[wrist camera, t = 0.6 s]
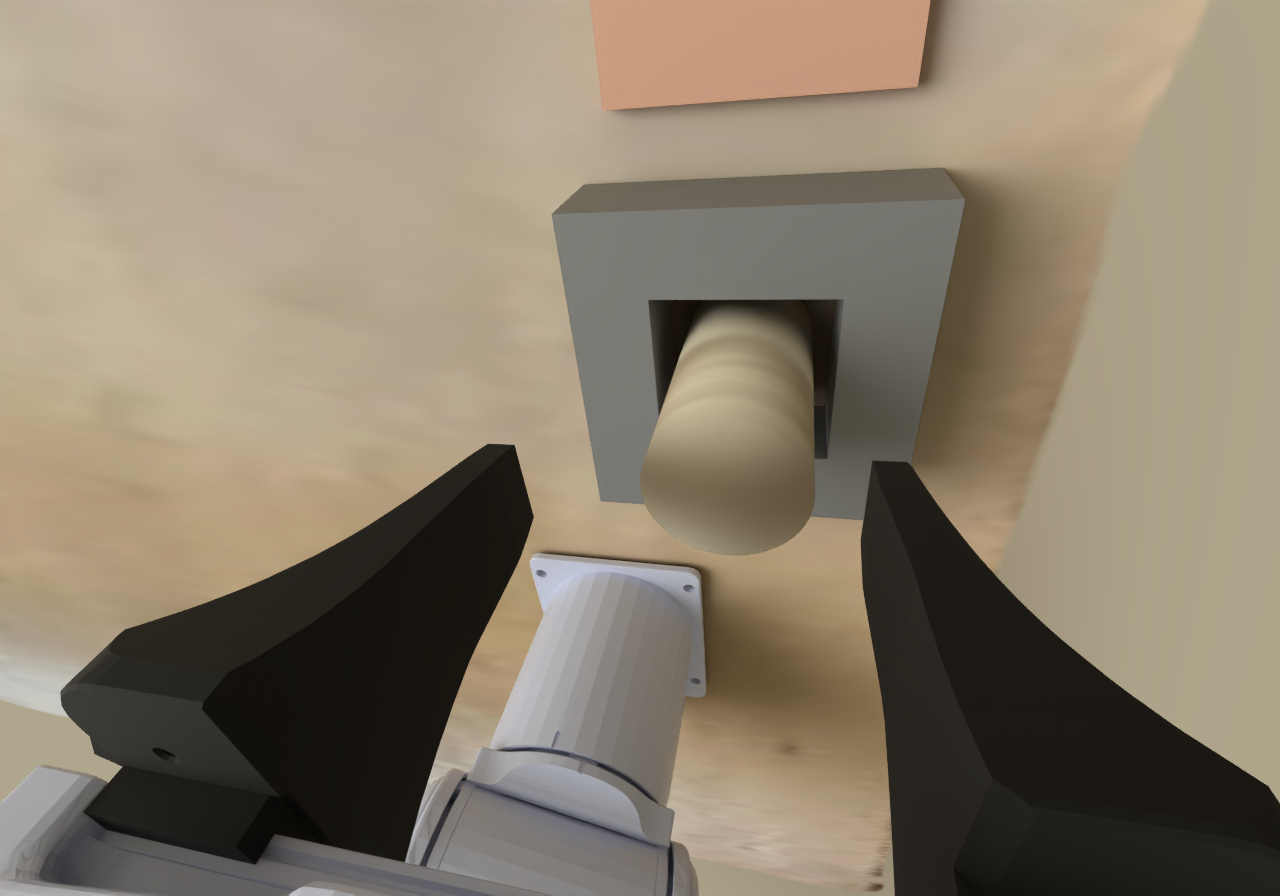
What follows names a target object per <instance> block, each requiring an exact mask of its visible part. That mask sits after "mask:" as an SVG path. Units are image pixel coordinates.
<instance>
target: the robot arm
mask: <svg viewBox="0 0 1280 896" xmlns="http://www.w3.org/2000/svg"><path fill="white" fill-rule="evenodd" d="M533 518H534V516H533V513H532V509H531V505H530V501H529V498H528V494H527V490H526V486H525V483H524V479H523V475H522V471H521V468H520V464H519V460H518V456H517V453H516V449H515V445H503V444H487V445H486V446H484V447H482V448H481V449H479V450H478V451H476V452H475V453H473V454H472V455H470V456H469V457H467V458H466V459H465V460H463V461H462V462H460V463H459V464H458V465H456V466H455V467H453V468H452V469H451V470H449V471H448V472H446V473H445V474H444V475H442V476H441V477H439V478H438V479H437V480H435V481H434V482H432V483H431V484H430V485H428V486H427V487H425V488H424V489H422V490H421V491H420V492H418V493H417V494H415V495H414V496H413V497H411V498H410V499H408V500H407V501H405V502H404V503H402V504H401V505H399V506H398V507H396V508H394V509H393V510H391V511H390V512H388V513H387V514H385V515H384V516H382V517H381V518H379V519H378V520H376V521H375V522H373V523H372V524H370V525H368V526H367V527H365V528H363V529H362V530H360V531H359V532H357V533H355V534H353V535H352V536H350V537H348V538H347V539H345V540H343V541H341V542H339V543H337V544H336V545H334V546H332V547H330V548H328V549H326V550H325V551H323V552H321V553H319V554H317V555H315V556H313V557H311V558H309V559H307V560H305V561H303V562H301V563H298V564H296V565H294V566H292V567H290V568H288V569H286V570H284V571H281V572H279V573H277V574H275V575H273V576H271V577H269V578H267V579H264V580H262V581H260V582H257V583H255V584H253V585H250V586H248V587H245V588H243V589H241V590H238V591H236V592H233V593H231V594H228V595H225V596H223V597H220V598H218V599H215V600H212V601H210V602H207V603H204V604H202V605H199V606H196V607H193V608H190V609H187V610H184V611H181V612H178V613H175V614H172V615H169V616H166V617H163V618H160V619H157V620H154V621H151V622H148V623H145V624H142V625H139V626H135V627H132V628H129V629H125V630H124V631H123V632H121V633H120V634H119V635H118V636H117V637H116V638H115V639H114V640H113V641H112V642H111V643H110V644H109V645H108V646H107V647H106V648H105V649H104V650H103V651H102V652H100V653H99V654H98V655H97V656H96V657H95V658H94V659H93V660H92V661H91V662H90V663H89V664H88V665H87V666H86V667H85V668H84V669H82V670H81V671H80V672H79V673H78V674H77V675H76V676H75V677H74V678H73V679H72V680H71V681H70V682H69V683H68V684H67V685H66V686H65V687H64V688H63V689H62V690H61V703H62V707H63V708H64V710H65V712H66V713H67V715H68V716H69V717H70V718H71V719H72V720H73V721H74V722H75V723H76V724H77V725H78V726H79V727H80V728H81V729H82V730H83V731H84V732H85V733H86V734H88V735H89V736H90V737H91V738H92V739H93V740H94V741H95V742H97V743H98V744H99V745H100V746H101V747H102V748H103V749H104V750H106V751H107V752H108V753H109V754H110V755H111V756H112V757H114V758H115V759H116V760H117V761H118V762H119V763H120V764H121V765H123V767H122V768H121V769H120V770H119V772H118V773H117V774H116V775H115V776H114V778H113V779H112V780H111V781H110V782H109V783H107V782H106V781H104V780H102V779H100V778H98V777H96V776H93V775H90V774H86V773H82V772H77V771H72V770H67V769H63V768H57V767H53V766H48V765H41V766H37V767H35V768H34V769H33V770H32V772H31V773H29V774H28V776H27V777H26V778H25V779H24V780H23V781H22V782H21V783H20V784H19V785H18V786H17V787H16V788H15V789H14V790H13V791H12V792H11V793H10V794H9V795H8V796H7V797H6V798H5V799H4V800H3V801H2V802H1V803H0V896H699V891H698V879H697V875H696V871H695V869H694V867H693V865H692V863H691V861H690V857H689V854H688V851H687V849H686V847H685V846H684V845H683V844H681V843H677V842H674V841H671V840H670V839H671V832H672V826H673V820H674V814H675V812H674V811H673V810H672V809H669V808H666V806H667V803H668V799H669V793H670V787H671V781H672V775H673V770H674V764H675V758H676V752H677V746H678V740H679V734H680V728H681V722H682V716H683V710H684V704H685V698H686V696H690V697H699V698H700V697H703V696H705V694H706V689H707V686H706V666H705V647H704V627H703V608H702V588H701V575H700V573H699V572H698V571H697V570H696V569H694V568H690V567H681V566H670V565H660V564H649V563H638V562H628V561H617V560H607V559H596V558H585V557H575V556H564V555H553V554H543V553H537V554H534V555H533V556H532V558H531V560H530V567H531V571H532V574H533V578H534V581H535V585H536V588H537V592H538V595H539V599H540V602H541V606H542V610H543V613H544V615H543V618H542V620H541V622H540V625H539V627H538V630H537V632H536V634H535V637H534V639H533V642H532V644H531V647H530V649H529V651H528V654H527V656H526V659H525V661H524V663H523V666H522V668H521V671H520V673H519V675H518V678H517V680H516V683H515V685H514V688H513V690H512V692H511V695H510V697H509V700H508V702H507V704H506V707H505V709H504V712H503V714H502V716H501V719H500V721H499V724H498V726H497V729H496V731H495V733H494V736H493V738H492V741H491V743H490V745H489V748H486V747H481V748H480V749H479V751H478V753H477V756H476V758H475V761H474V763H473V765H472V768H471V770H470V772H469V773H467V772H465V771H462V770H459V769H452V770H450V771H448V772H447V774H446V775H445V776H442V777H441V778H439V779H437V780H435V781H433V782H432V783H431V784H430V785H429V786H428V787H427V789H426V785H427V782H428V779H429V776H430V773H431V769H432V766H433V763H434V760H435V756H436V753H437V750H438V747H439V744H440V741H441V738H442V735H443V732H444V729H445V727H446V724H447V721H448V718H449V715H450V712H451V709H452V706H453V703H454V701H455V698H456V695H457V693H458V690H459V688H460V685H461V682H462V680H463V677H464V674H465V672H466V669H467V666H468V664H469V661H470V659H471V657H472V655H473V653H474V650H475V648H476V646H477V644H478V642H479V640H480V638H481V636H482V634H483V632H484V630H485V628H486V626H487V624H488V622H489V620H490V618H491V616H492V614H493V612H494V610H495V608H496V606H497V604H498V602H499V600H500V598H501V596H502V594H503V592H504V590H505V588H506V586H507V584H508V582H509V580H510V578H511V576H512V574H513V572H514V570H515V568H516V566H517V564H518V561H519V559H520V557H521V554H522V551H523V549H524V546H525V543H526V540H527V537H528V534H529V531H530V527H531V524H532V521H533ZM861 559H862V579H863V591H864V597H865V603H866V609H867V615H868V621H869V627H870V632H871V638H872V644H873V650H874V655H875V661H876V667H877V672H878V678H879V684H880V690H881V695H882V703H883V711H884V719H885V733H886V747H887V761H888V776H889V792H890V809H891V825H892V845H893V865H894V886H895V896H1280V803H1279V802H1278V800H1277V799H1276V797H1275V796H1274V794H1273V793H1272V791H1271V790H1270V788H1269V787H1268V786H1267V785H1265V784H1264V783H1262V782H1261V781H1259V780H1258V779H1256V778H1255V777H1253V776H1251V775H1250V774H1248V773H1247V772H1245V771H1243V770H1242V769H1240V768H1239V767H1237V766H1236V765H1234V764H1233V763H1231V762H1230V761H1228V760H1226V759H1225V758H1223V757H1222V756H1220V755H1219V754H1217V753H1216V752H1214V751H1212V750H1211V749H1209V748H1208V747H1206V746H1205V745H1203V744H1202V743H1200V742H1198V741H1197V740H1195V739H1194V738H1192V737H1191V736H1189V735H1187V734H1186V733H1184V732H1183V731H1181V730H1180V729H1178V728H1177V727H1176V726H1174V725H1172V724H1171V723H1170V722H1168V721H1167V720H1166V719H1164V718H1162V717H1161V716H1160V715H1159V714H1157V713H1155V712H1154V711H1153V710H1152V709H1150V708H1149V707H1147V706H1146V705H1145V704H1143V703H1142V702H1140V701H1139V700H1137V699H1136V698H1135V697H1133V696H1132V695H1131V694H1129V693H1128V692H1127V691H1125V690H1124V689H1123V688H1121V687H1120V686H1118V685H1117V684H1116V683H1115V682H1113V681H1112V680H1111V679H1109V678H1108V677H1107V676H1105V675H1104V674H1103V673H1102V672H1101V671H1099V670H1098V669H1097V668H1096V667H1094V666H1093V665H1092V664H1091V663H1089V662H1088V661H1087V660H1086V659H1084V658H1083V657H1082V656H1081V655H1080V654H1078V653H1077V652H1076V651H1075V650H1074V649H1072V648H1071V647H1070V646H1069V645H1067V644H1066V643H1065V642H1064V641H1062V640H1061V639H1060V638H1059V637H1058V636H1057V635H1056V634H1055V633H1053V632H1052V631H1051V630H1050V629H1049V628H1048V627H1046V626H1045V625H1044V624H1043V623H1042V622H1041V621H1040V620H1039V619H1038V618H1037V617H1036V616H1035V615H1034V614H1033V613H1032V612H1031V611H1030V610H1028V609H1027V608H1026V607H1025V606H1024V605H1023V604H1022V603H1021V602H1020V601H1019V600H1018V599H1017V598H1016V597H1015V596H1014V595H1013V594H1012V593H1011V592H1010V590H1009V589H1008V588H1007V587H1006V586H1005V585H1004V584H1003V583H1002V582H1001V581H1000V580H999V579H998V578H997V577H996V575H995V574H994V573H993V572H992V571H991V570H990V569H989V568H988V567H987V566H986V564H985V563H984V562H983V561H982V560H981V559H980V558H979V556H978V555H977V554H976V553H975V552H974V550H973V549H972V548H971V547H970V546H969V544H968V543H967V542H966V541H965V539H964V538H963V537H962V536H961V534H960V533H959V532H958V531H957V529H956V528H955V527H954V526H953V524H952V523H951V522H950V521H949V519H948V518H947V517H946V515H945V514H944V513H943V511H942V510H941V508H940V507H939V506H938V504H937V503H936V501H935V500H934V499H933V497H932V496H931V494H930V493H929V492H928V490H927V489H926V487H925V486H924V484H923V483H922V481H921V480H920V478H919V477H918V475H917V474H916V472H915V470H914V469H913V467H912V466H911V465H910V464H909V463H908V462H896V461H873V460H872V466H871V473H870V480H869V486H868V493H867V500H866V507H865V514H864V521H863V528H862V535H861ZM542 570H543V571H542ZM689 585H692V586H689ZM425 789H426V790H425Z"/></svg>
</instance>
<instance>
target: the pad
mask: <svg viewBox="0 0 1280 896" xmlns="http://www.w3.org/2000/svg"><path fill="white" fill-rule="evenodd" d="M930 1H931V0H590V3H591V12H592V20H593V29H594V38H595V47H596V56H597V64H598V73H599V82H600V91H601V100H602V109H603V110H617V109H630V108H644V107H657V106H671V105H684V104H697V103H711V102H724V101H738V100H751V99H764V98H778V97H791V96H805V95H818V94H832V93H845V92H858V91H872V90H885V89H899V88H912V87H918V82H919V75H920V68H921V62H922V55H923V48H924V41H925V35H926V28H927V21H928V14H929V7H930Z"/></svg>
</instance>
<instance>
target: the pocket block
mask: <svg viewBox="0 0 1280 896" xmlns="http://www.w3.org/2000/svg"><path fill="white" fill-rule="evenodd" d="M964 204H965V198H964V196H963V195H962V194H961V192H960V191H959V190H958V188H957V187H956V185H955V184H954V183H953V181H952V180H951V178H950V177H949V176H948V174H947V173H946V172H945V170H944V169H943V168H931V169H910V170H889V171H868V172H846V173H825V174H804V175H782V176H761V177H740V178H718V179H697V180H676V181H654V182H633V183H612V184H591V185H583V186H582V187H581V188H580V189H579V190H577V191H576V192H575V193H574V194H573V195H572V196H571V197H570V198H569V199H568V200H567V201H565V202H564V203H563V204H562V205H561V206H560V207H559V208H558V209H557V210H556V211H555V212H553V213H552V219H553V225H554V231H555V237H556V243H557V248H558V254H559V260H560V266H561V272H562V278H563V283H564V289H565V295H566V301H567V307H568V313H569V318H570V324H571V330H572V336H573V342H574V348H575V354H576V359H577V365H578V371H579V377H580V383H581V389H582V394H583V400H584V406H585V412H586V418H587V424H588V430H589V435H590V441H591V447H592V453H593V459H594V465H595V470H596V476H597V482H598V488H599V494H600V500H601V501H605V502H619V503H633V504H645V503H644V500H643V498H642V494H641V489H640V475H641V469H642V466H643V463H644V460H645V457H646V454H647V451H648V448H649V445H650V442H651V439H652V436H653V434H654V431H655V428H656V425H657V422H658V419H659V416H660V413H661V410H662V407H663V404H664V401H665V398H666V395H667V392H668V389H669V386H670V383H671V380H672V377H673V375H674V372H675V368H674V354H673V339H672V324H671V310H670V300H795V299H836V302H835V312H834V322H833V333H832V343H831V353H830V363H829V374H828V384H827V394H826V405H825V407H814V453H815V502H814V508H813V511H812V513H811V516H812V517H826V518H840V519H854V520H864V514H865V507H866V500H867V493H868V486H869V480H870V473H871V466H872V460H873V461H896V462H908V463H909V464H910V465H911V462H912V457H913V452H914V447H915V442H916V437H917V433H918V428H919V423H920V418H921V413H922V408H923V403H924V399H925V394H926V389H927V384H928V379H929V374H930V369H931V364H932V360H933V355H934V350H935V345H936V340H937V335H938V330H939V326H940V321H941V316H942V311H943V306H944V301H945V296H946V291H947V287H948V282H949V277H950V272H951V267H952V262H953V257H954V252H955V248H956V243H957V238H958V233H959V228H960V223H961V218H962V214H963V209H964Z"/></svg>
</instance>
